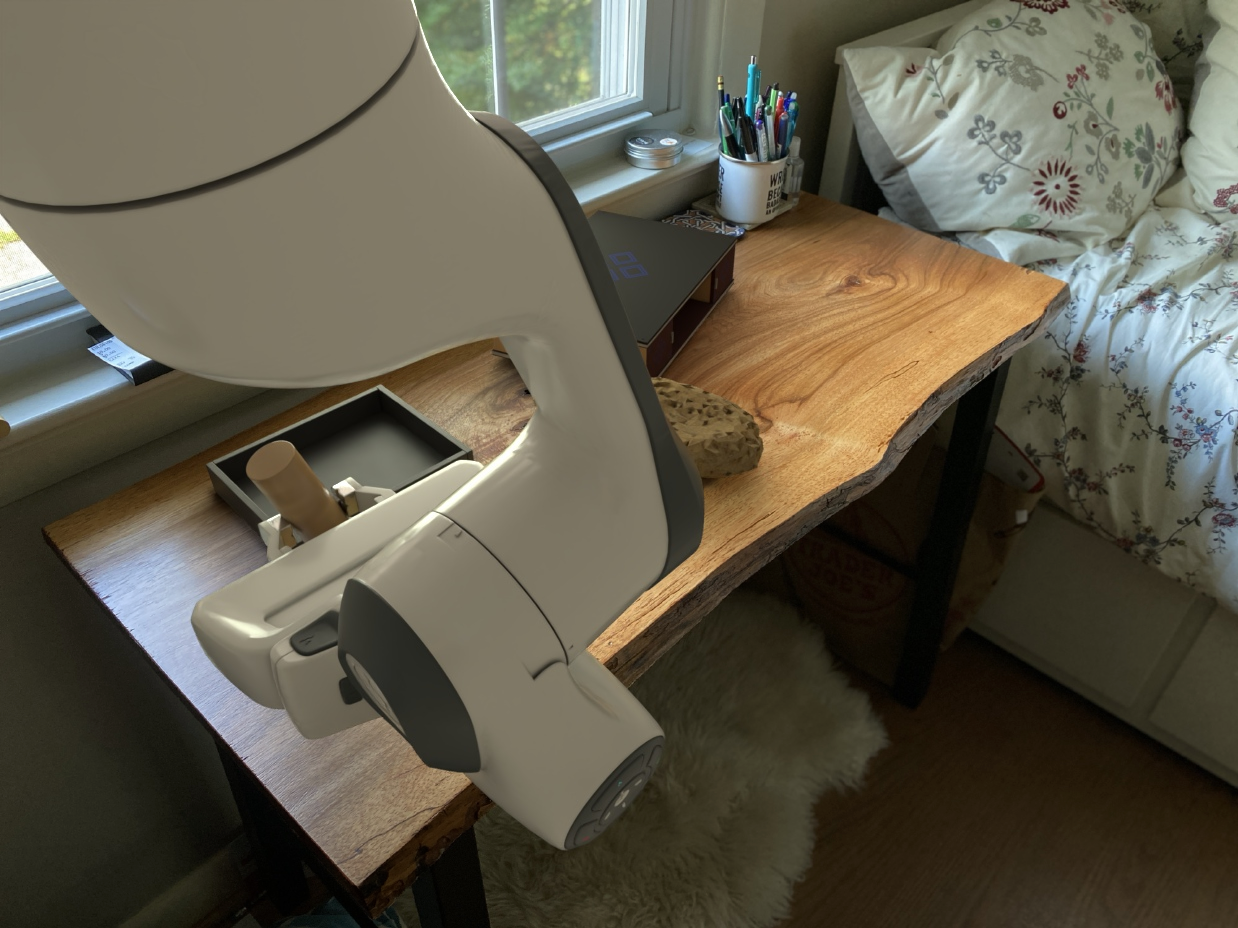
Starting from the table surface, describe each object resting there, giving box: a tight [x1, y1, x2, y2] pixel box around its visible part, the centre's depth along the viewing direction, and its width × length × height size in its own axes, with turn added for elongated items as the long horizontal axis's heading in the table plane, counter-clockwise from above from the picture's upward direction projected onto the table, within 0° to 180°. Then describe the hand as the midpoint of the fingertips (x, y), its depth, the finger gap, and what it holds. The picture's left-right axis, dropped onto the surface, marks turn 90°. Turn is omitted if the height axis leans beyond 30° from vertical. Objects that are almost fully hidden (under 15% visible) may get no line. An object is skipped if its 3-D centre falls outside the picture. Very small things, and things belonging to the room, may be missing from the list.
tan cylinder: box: [246, 441, 352, 543], centre depth 61 cm, size 5×5×12 cm
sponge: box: [532, 376, 764, 480], centre depth 82 cm, size 13×8×20 cm
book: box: [491, 209, 738, 378], centre depth 100 cm, size 17×25×7 cm
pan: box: [205, 384, 475, 550], centre depth 80 cm, size 17×14×3 cm
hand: (306, 507), depth 61 cm, fingers closed on tan cylinder, 4 cm apart
